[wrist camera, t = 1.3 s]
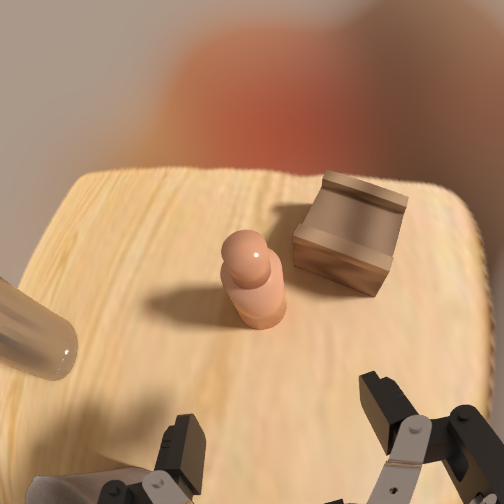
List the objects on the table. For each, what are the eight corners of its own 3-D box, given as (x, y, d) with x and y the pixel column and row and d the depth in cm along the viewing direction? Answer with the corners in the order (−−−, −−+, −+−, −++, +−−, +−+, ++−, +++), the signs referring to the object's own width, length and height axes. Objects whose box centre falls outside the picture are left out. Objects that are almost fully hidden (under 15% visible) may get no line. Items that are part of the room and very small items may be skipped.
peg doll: (230, 317, 32) (196, 264, 22) (252, 278, 34) (231, 212, 24) (272, 337, 30) (258, 292, 20) (294, 295, 32) (291, 233, 22)
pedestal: (293, 265, 34) (292, 234, 29) (324, 203, 38) (326, 169, 33) (375, 297, 31) (389, 271, 25) (395, 229, 35) (408, 197, 29)
